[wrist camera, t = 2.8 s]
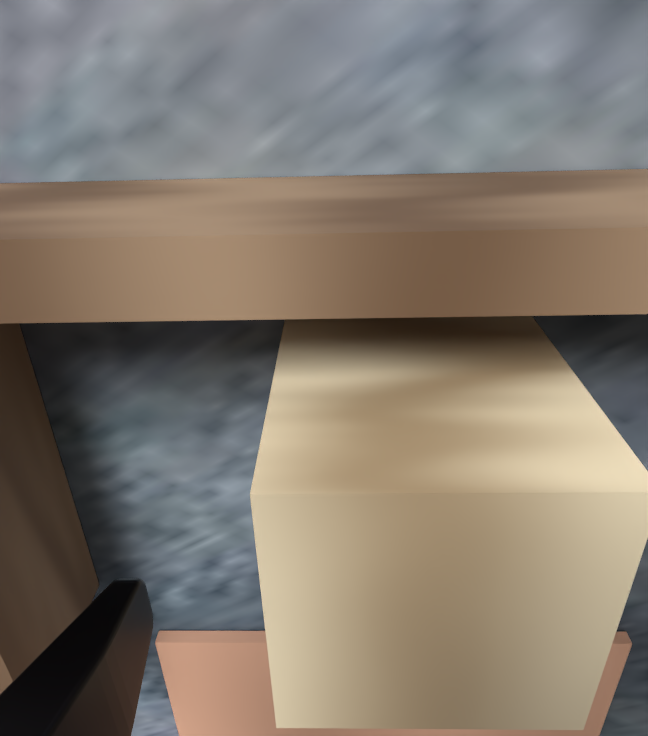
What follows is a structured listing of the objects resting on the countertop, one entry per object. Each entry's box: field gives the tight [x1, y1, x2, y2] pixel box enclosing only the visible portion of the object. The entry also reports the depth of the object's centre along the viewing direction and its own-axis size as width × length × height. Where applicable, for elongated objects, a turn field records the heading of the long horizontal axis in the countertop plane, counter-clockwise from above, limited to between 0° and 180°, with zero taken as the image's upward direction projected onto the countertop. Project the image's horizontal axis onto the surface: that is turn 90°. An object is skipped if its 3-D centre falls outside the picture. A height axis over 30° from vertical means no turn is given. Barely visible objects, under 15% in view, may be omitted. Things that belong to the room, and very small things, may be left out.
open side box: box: [0, 169, 648, 694], centre depth 12 cm, size 19×11×4 cm, turn 91°
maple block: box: [250, 316, 648, 730], centre depth 11 cm, size 5×5×6 cm
